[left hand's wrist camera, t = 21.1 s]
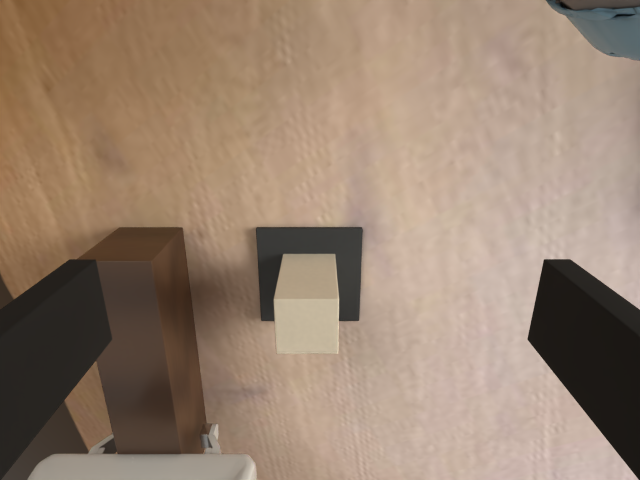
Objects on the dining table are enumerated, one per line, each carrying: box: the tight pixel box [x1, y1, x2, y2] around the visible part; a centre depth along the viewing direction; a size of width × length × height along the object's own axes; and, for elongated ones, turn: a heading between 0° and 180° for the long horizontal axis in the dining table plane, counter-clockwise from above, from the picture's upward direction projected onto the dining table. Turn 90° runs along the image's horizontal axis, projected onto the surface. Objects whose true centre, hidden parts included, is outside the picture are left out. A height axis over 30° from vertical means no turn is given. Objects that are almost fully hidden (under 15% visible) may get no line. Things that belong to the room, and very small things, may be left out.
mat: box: [256, 227, 363, 321], centre depth 42 cm, size 10×10×1 cm
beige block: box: [274, 254, 339, 354], centre depth 37 cm, size 5×5×9 cm
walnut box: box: [78, 228, 206, 454], centre depth 41 cm, size 26×6×8 cm, turn 0°
